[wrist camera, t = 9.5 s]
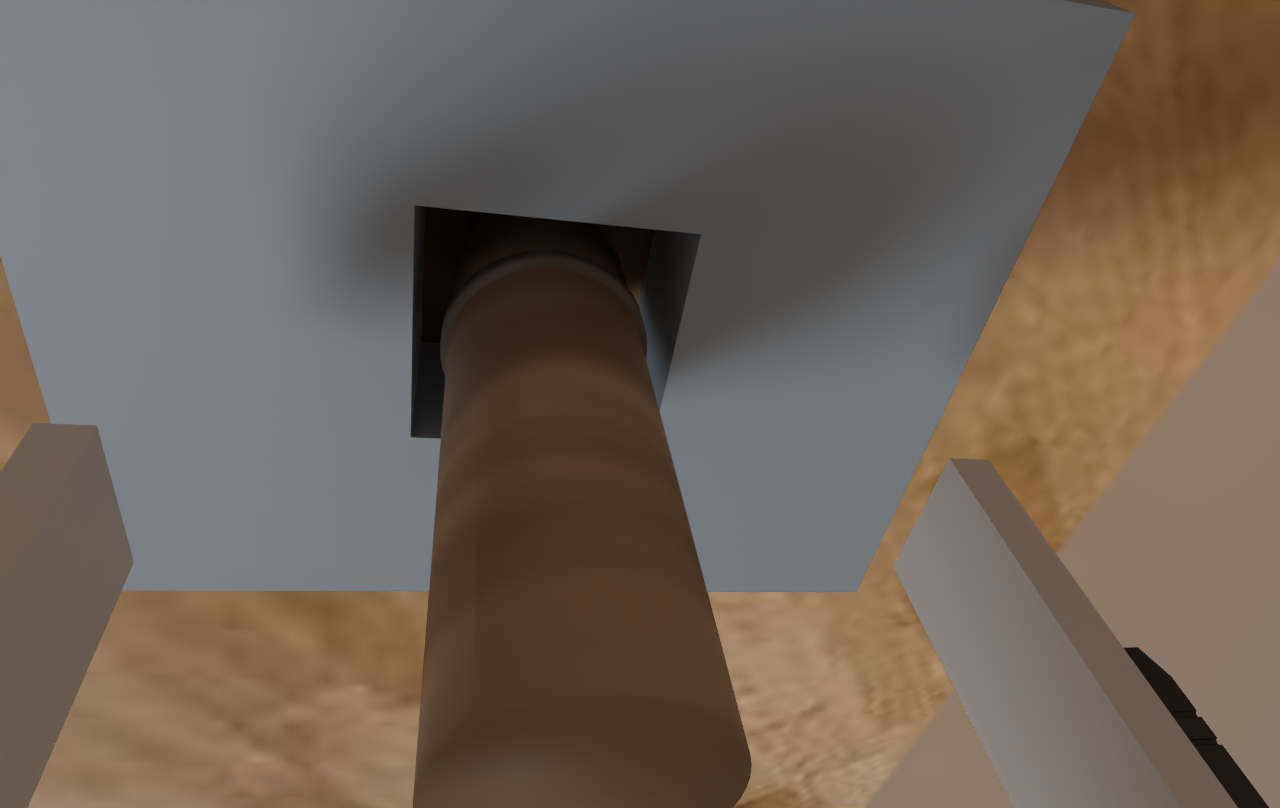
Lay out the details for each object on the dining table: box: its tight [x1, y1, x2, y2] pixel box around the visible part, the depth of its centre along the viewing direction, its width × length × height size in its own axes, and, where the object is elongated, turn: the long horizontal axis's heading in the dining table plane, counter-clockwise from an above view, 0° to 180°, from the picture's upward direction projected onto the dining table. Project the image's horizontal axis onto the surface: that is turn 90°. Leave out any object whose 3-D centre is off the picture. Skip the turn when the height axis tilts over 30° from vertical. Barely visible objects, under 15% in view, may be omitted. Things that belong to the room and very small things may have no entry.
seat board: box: [0, 0, 1135, 592], centre depth 19 cm, size 16×20×4 cm
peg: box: [413, 212, 751, 808], centre depth 15 cm, size 4×4×14 cm
